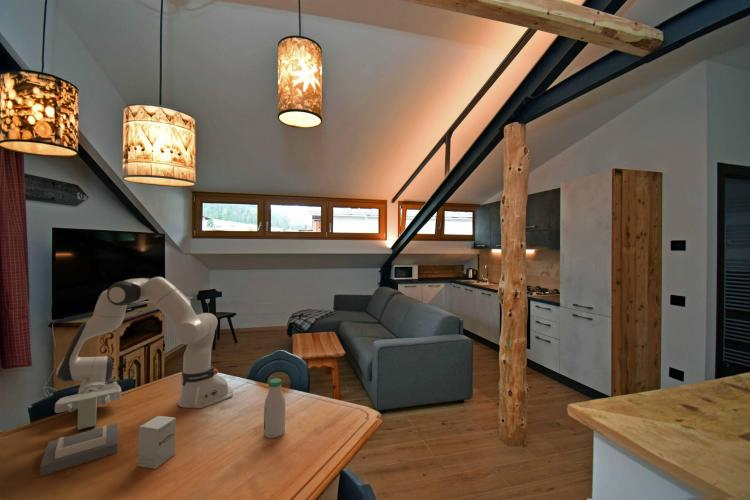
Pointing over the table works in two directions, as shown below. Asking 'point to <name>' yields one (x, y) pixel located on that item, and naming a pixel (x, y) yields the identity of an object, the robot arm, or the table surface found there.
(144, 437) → the supplement box
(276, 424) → the milk bottle
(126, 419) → the table surface
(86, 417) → the pale green footed pillar
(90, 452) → the dock
